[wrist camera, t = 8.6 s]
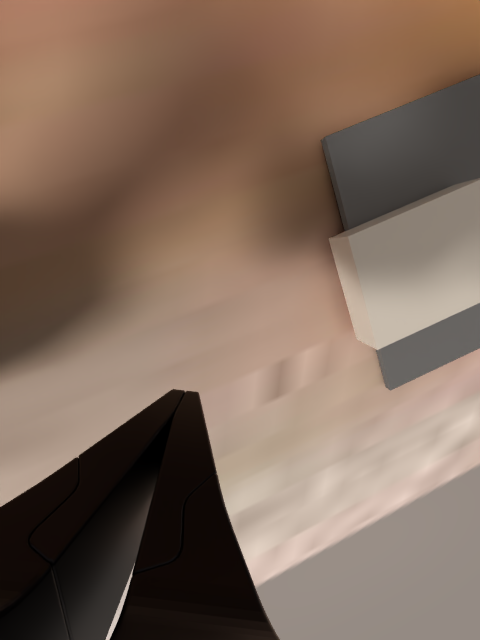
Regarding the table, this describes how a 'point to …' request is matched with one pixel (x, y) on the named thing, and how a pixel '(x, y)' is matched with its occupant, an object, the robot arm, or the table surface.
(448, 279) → the glazed tile
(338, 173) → the mat
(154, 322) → the table surface
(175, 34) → the table surface
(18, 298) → the table surface
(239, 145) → the table surface
